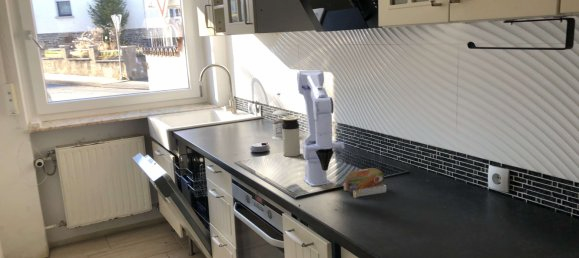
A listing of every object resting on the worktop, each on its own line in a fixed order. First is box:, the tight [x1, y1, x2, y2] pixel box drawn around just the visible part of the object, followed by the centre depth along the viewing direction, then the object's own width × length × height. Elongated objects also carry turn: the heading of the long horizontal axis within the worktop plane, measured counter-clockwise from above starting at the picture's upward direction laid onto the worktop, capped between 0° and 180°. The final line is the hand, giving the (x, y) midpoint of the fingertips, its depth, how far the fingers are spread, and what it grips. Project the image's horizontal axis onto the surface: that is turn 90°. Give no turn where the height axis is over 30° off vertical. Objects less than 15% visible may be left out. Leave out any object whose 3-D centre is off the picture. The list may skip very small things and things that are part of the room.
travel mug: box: [282, 116, 301, 158], centre depth 229 cm, size 8×8×18 cm
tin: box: [344, 167, 385, 194], centre depth 174 cm, size 15×3×8 cm, turn 113°
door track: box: [343, 182, 387, 199], centre depth 175 cm, size 10×13×2 cm
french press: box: [271, 92, 291, 140], centre depth 268 cm, size 10×12×25 cm
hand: (324, 169), depth 170 cm, fingers closed
